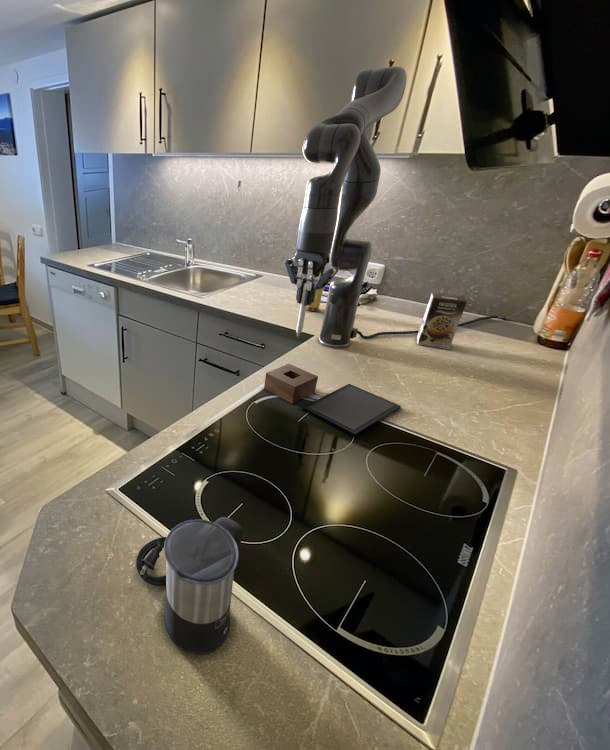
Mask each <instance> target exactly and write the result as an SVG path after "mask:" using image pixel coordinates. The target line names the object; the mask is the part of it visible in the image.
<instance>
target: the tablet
mask: <svg viewBox="0 0 610 750" xmlns="http://www.w3.org/2000/svg"><path fill="white" fill-rule="evenodd" d="M401 408H402V405H400V404H397V403H395V402H393V401H391V400H388V399H386V398H384V397H381V396H379V395H377V394H375V393H372V392H370V391H368V390H366V389H363V388H361V387H358V386H356V385H354V384H351V383H347V384H346V385H344V386H342V387H340V388H338V389H336V390H333V391H331V392H330V393H328V394H325V395H324V396H322V397H319V398H318V399H316V400H313V401H312V402H310V403H308V404H306V405H304V406H302V408H301V410H302V411H304V412H305V413H307V414H309V415H311V416H313V417H315V418H317V419H318V420H320V421H322V422H324V423H326V424H328V425H330V426H331V427H334V428H335V429H337V430H339V431H341V432H343V433H345V434H347V435H349V436H350V437H353V438H356V437H357V436H359V435H360V434H362V433H364V432H365V431H367V430H369V429H371V427H374V426H375V425H377V424H378V423H380V422H381V421H383V420H384V419H386V418H388V417H389V416H391V415H393V414H394V413H396V412H398V411H399V410H401Z"/></svg>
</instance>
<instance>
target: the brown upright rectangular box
mask: <svg viewBox="0 0 610 750" xmlns="http://www.w3.org/2000/svg"><path fill="white" fill-rule="evenodd" d="M467 302H468V301H467V299H466V297H465V296H464V295H463V296H462V295H453V294H446V293H438V292H431V294H430V297H429V300H428V303H427V306H426V308H425V312H424V315H423V318H422V321H421V324H420V326H419V329H418V330H419V333H417V336H416V344H417V345H419V346H426V347H433V348H439V349H444V350H450V348H451V345H452V342H453V340H454V337H455V335H456V332H457V329H458V328H459V327H458V324H460V322H461V319H462V316H463V314H464V312H465V308H466V306H467Z"/></svg>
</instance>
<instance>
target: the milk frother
mask: <svg viewBox="0 0 610 750" xmlns="http://www.w3.org/2000/svg"><path fill="white" fill-rule="evenodd" d="M243 533H244V529H243V526H242V525H241V524H239V523H238V522H237V521H234V519H231V518H229V517H226V516H221V517H219V518H217V519H216V520H215V521H210V520H206V519H190V520H185V521H182V522H179V524H177V525H175V526H174V527H173V528H171V530H170V531H169V532H168V534H167V536H161V537H158V538H154V539H152V540H150V541H149V542H146V543H145V544H144V545H143V546H142V547H141V549H140V550H139V551H138V553H137V557H136V559H135V567H136V571H137V573H138V575H139V577H140V578H141V579H142V580H143V581H144V582H146V583H147V584H150V585H152V586H155V587H164V586H165V587H166V593H165V594H166V597H165V598H166V600H165V607H164V611H163V624H164V629H165V631H166V633H167V635H168V637H169V638H170V640H171V641H172V642H173V643H174V644H175V645H176V646H177V647H178V648H180V649H182V650H183V651H185V652H187V653H191V654H196V655H197V654H198V655H203V654H204V655H205V654H209V653H213V652H215V651H216V650H218V649H219V648H220V647H221V646H222V645H223V644H224V643H225V642H226V640H227V639H228V636H229V634H230V631H231V617H230V616H231V614H230V612H231V603H232V594H233V585H234V576H235V572H236V570H237V567H238V563H239V557H240V552H241V551H240V550H241V545H242V544H241V542H242V539H243ZM162 551H163V554H164V558H165V561H166V563H165V564H166V565H165V567H166V573H165V575H162V576H154V575H152V574H149V573H148V569H150V570H151V571H155V565H157V562H158V559H159V558H160V553H161V552H162Z"/></svg>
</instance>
